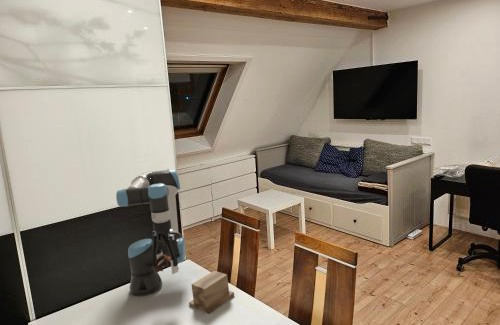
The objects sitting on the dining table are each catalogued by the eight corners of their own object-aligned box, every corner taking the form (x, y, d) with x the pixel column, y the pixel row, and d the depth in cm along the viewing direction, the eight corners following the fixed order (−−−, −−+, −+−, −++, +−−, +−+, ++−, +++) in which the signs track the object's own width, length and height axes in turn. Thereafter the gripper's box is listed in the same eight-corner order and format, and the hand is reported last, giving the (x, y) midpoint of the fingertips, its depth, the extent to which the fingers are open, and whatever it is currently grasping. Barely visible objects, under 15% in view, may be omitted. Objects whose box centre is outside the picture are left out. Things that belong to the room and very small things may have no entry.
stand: (189, 305, 151) (186, 284, 149) (214, 288, 163) (212, 268, 161) (209, 313, 143) (206, 291, 142) (234, 295, 155) (232, 274, 154)
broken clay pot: (177, 276, 146) (165, 263, 143) (160, 285, 149) (147, 272, 146) (183, 257, 157) (172, 245, 154) (167, 266, 159) (156, 253, 157)
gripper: (139, 219, 152) (146, 268, 155) (170, 226, 138) (177, 279, 141) (153, 214, 158) (160, 261, 161) (184, 221, 144) (191, 272, 147)
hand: (168, 270), depth 151 cm, fingers closed on broken clay pot, 9 cm apart
